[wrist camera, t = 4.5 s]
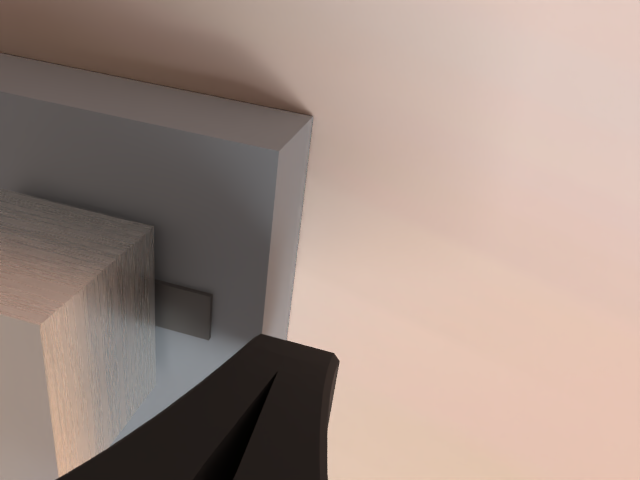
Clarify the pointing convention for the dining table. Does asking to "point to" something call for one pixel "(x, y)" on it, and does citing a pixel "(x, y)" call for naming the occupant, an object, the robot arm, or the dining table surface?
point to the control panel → (170, 199)
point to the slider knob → (70, 333)
